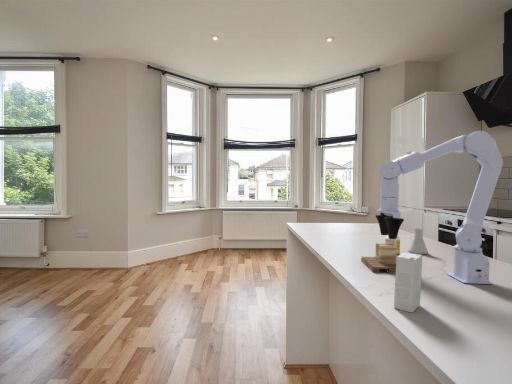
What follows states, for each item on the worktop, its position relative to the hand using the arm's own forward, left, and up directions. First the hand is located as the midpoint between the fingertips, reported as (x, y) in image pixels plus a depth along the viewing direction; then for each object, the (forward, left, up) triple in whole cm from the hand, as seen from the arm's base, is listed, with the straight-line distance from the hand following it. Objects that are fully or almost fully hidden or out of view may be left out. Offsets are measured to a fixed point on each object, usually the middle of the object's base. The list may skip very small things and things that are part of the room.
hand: (388, 236), depth 106 cm
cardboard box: (0, +1, -8) cm, 9 cm away
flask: (+25, -21, -11) cm, 34 cm away
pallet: (0, +1, -10) cm, 10 cm away
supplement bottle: (+18, -8, -11) cm, 22 cm away
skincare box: (-35, +8, -11) cm, 38 cm away
